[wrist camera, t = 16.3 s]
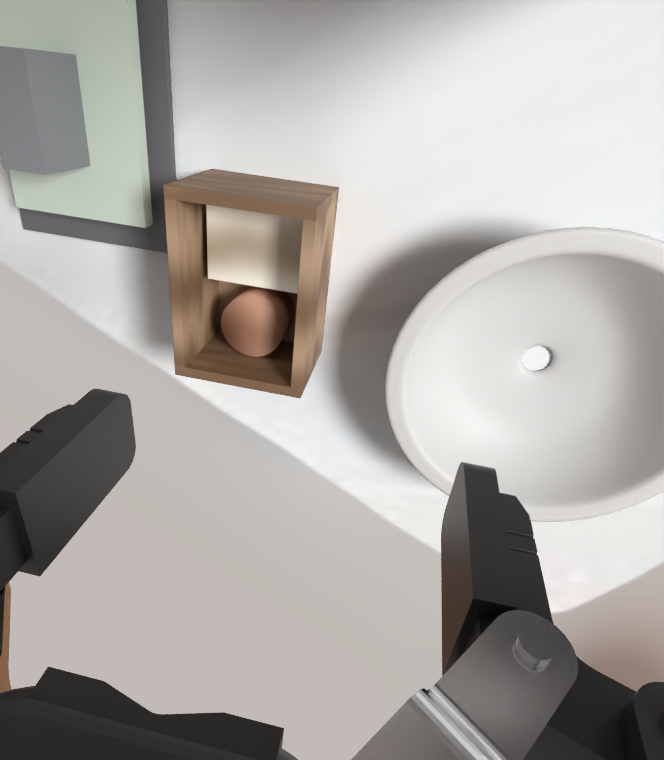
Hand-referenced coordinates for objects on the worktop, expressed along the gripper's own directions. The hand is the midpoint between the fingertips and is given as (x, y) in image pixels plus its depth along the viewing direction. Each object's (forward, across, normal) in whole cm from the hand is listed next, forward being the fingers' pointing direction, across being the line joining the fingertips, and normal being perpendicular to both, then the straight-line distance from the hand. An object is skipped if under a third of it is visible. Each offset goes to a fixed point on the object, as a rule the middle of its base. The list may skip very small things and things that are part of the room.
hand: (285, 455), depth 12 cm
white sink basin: (+30, -14, +10) cm, 35 cm away
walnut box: (+30, +9, +6) cm, 32 cm away
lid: (+28, +24, -4) cm, 37 cm away
